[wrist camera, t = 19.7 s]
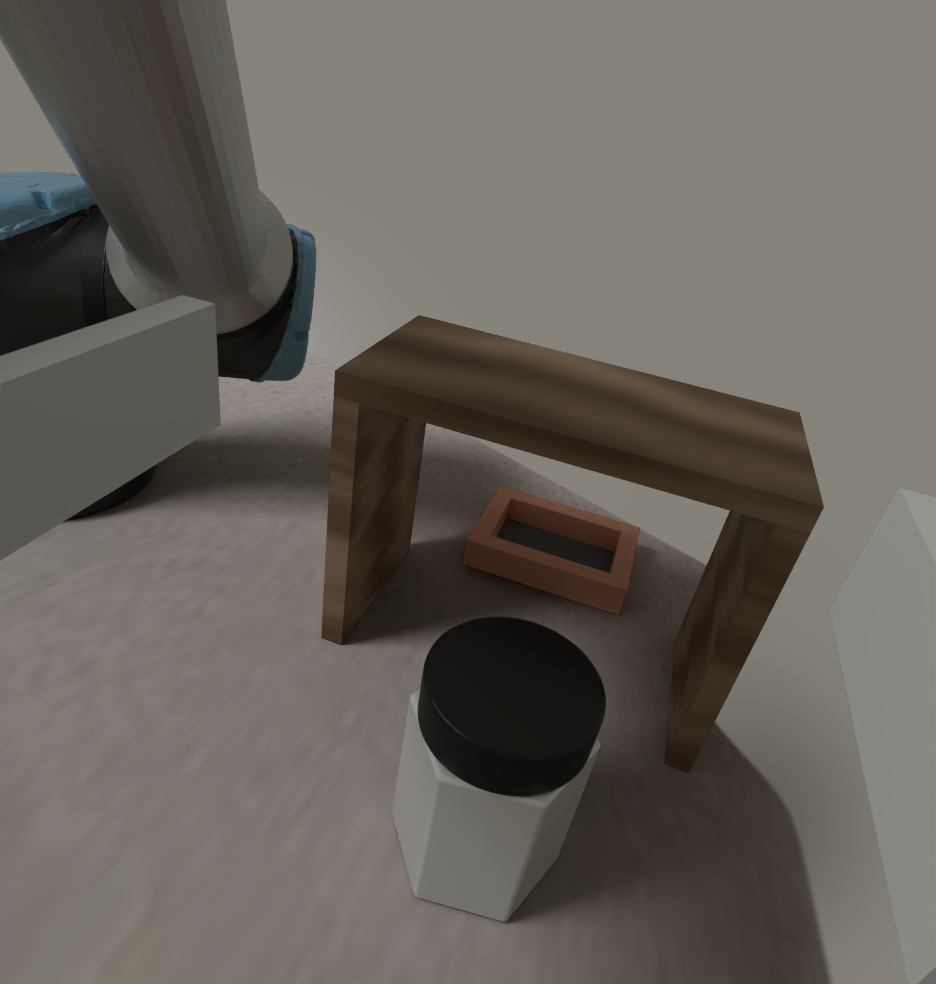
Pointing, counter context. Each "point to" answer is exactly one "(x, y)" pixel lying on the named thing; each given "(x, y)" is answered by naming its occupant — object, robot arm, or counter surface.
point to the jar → (494, 762)
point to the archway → (584, 443)
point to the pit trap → (554, 549)
